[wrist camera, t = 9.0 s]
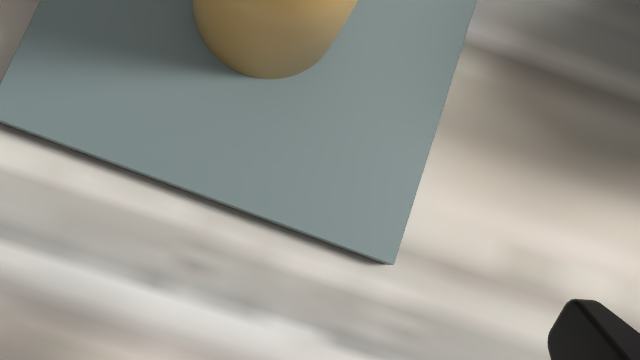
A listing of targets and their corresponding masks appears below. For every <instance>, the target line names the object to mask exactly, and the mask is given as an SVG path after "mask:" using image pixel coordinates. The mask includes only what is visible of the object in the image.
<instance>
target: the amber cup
mask: <svg viewBox="0 0 640 360" xmlns="http://www.w3.org/2000/svg"><path fill="white" fill-rule="evenodd" d="M357 2H358V0H192V4H193V14H194V20H195V23H196V27H197V29H198V32H199V34H200V36H201V38H202V40H203V41H204V43H205V45H206V46H207V47H208V48H209V50H210V51H211V52H212V53H213V54H214V55H215V56H216V57H217V58H218V59H219V60H220V61H221V62H223V63H224V64H225V65H227V66H228V67H230V68H232V69H233V70H235V71H237V72H240V73H242V74H244V75H248V76H251V77H255V78H261V79H281V78H286V77H291V76H294V75H297V74H299V73H302V72H304V71H305V70H307V69H309V68H310V67H312V66H313V65H315V64H316V63H317V62H318V61H319V60H320V59H321V58H322V57H323V56H324V55H325V54H326V52H327V51H328V50H329V48H330V46H331V45H332V43H333V41H334V40H335V38H336V36H337V35H338V33H339V31H340V30H341V28H342V27H343V25H344V23H345V22H346V20H347V18H348V17H349V15H350V13H351V12H352V10H353V8H354V7H355V5H356V3H357Z"/></svg>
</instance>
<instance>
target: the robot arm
mask: <svg viewBox="0 0 640 360" xmlns="http://www.w3.org/2000/svg"><path fill="white" fill-rule="evenodd" d="M548 350H549V354H550V358H551V360H640V333H638V332H637V331H636V330H634V329H633V328H632V327H631V326H629V325H628V324H627V323H625V322H624V321H623V320H622V319H620V318H619V317H618V316H616V315H615V314H614V313H612V312H611V311H610V310H609V309H607V308H606V307H605V306H603V305H602V304H601V303H599V302H597V301H594V300H584V299H572V300H570V301H569V302H567V303H566V305H565V306H564V308H563V310H562V311H561V313H560V315H559V316H558V318H557V320H556V322H555V323H554V325H553V327H552V328H551V330H550V332H549V335H548Z"/></svg>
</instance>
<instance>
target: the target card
mask: <svg viewBox="0 0 640 360" xmlns="http://www.w3.org/2000/svg"><path fill="white" fill-rule="evenodd" d="M476 1H477V0H358V2H357V3H356V5H355V7H354V8H353V10H352V12H351V13H350V15H349V17H348V18H347V20H346V22H345V23H344V25H343V27H342V28H341V30H340V31H339V33H338V35H337V36H336V38H335V40H334V41H333V43H332V45H331V46H330V48H329V50H328V51H327V52H326V54H325V55H324V56H323V57H322V58H321V59H320V60H319V61H318V62H317V63H316V64H315V65H313V66H312V67H310V68H309V69H307V70H305V71H304V72H302V73H299V74H297V75H294V76H291V77H286V78H281V79H261V78H255V77H251V76H248V75H244V74H242V73H240V72H237V71H235V70H233V69H232V68H230V67H228V66H227V65H225V64H224V63H223V62H221V61H220V60H219V59H218V58H217V57H216V56H215V55H214V54H213V53H212V52H211V51H210V50H209V48H208V47H207V46H206V45H205V43H204V41H203V40H202V38H201V36H200V34H199V32H198V29H197V27H196V23H195V20H194V14H193V4H192V0H41V1H40V3H39V5H38V7H37V10H36V12H35V14H34V16H33V18H32V20H31V22H30V24H29V26H28V28H27V30H26V32H25V34H24V36H23V38H22V41H21V43H20V45H19V47H18V49H17V51H16V53H15V55H14V57H13V59H12V61H11V63H10V65H9V67H8V69H7V71H6V74H5V76H4V78H3V80H2V82H1V84H0V123H2V124H5V125H8V126H10V127H13V128H16V129H19V130H21V131H24V132H27V133H30V134H32V135H35V136H38V137H40V138H43V139H46V140H49V141H51V142H54V143H57V144H60V145H62V146H65V147H68V148H70V149H73V150H76V151H79V152H81V153H84V154H87V155H90V156H92V157H95V158H98V159H101V160H103V161H106V162H109V163H111V164H114V165H117V166H120V167H122V168H125V169H128V170H131V171H133V172H136V173H139V174H141V175H144V176H147V177H150V178H152V179H155V180H158V181H161V182H163V183H166V184H169V185H171V186H174V187H177V188H180V189H182V190H185V191H188V192H191V193H193V194H196V195H199V196H201V197H204V198H207V199H210V200H212V201H215V202H218V203H221V204H223V205H226V206H229V207H231V208H234V209H237V210H240V211H242V212H245V213H248V214H251V215H253V216H256V217H259V218H261V219H264V220H267V221H270V222H272V223H275V224H278V225H281V226H283V227H286V228H289V229H292V230H294V231H297V232H300V233H302V234H305V235H308V236H311V237H313V238H316V239H319V240H322V241H324V242H327V243H330V244H332V245H335V246H338V247H341V248H343V249H346V250H349V251H352V252H354V253H357V254H360V255H362V256H365V257H368V258H371V259H373V260H376V261H379V262H382V263H384V264H387V265H394V263H395V259H396V256H397V253H398V250H399V247H400V243H401V240H402V237H403V234H404V231H405V227H406V224H407V221H408V218H409V215H410V211H411V208H412V205H413V202H414V199H415V196H416V192H417V189H418V186H419V183H420V180H421V176H422V173H423V170H424V167H425V164H426V160H427V157H428V154H429V151H430V148H431V144H432V141H433V138H434V135H435V132H436V129H437V125H438V122H439V119H440V116H441V113H442V109H443V106H444V103H445V100H446V97H447V93H448V90H449V87H450V84H451V81H452V77H453V74H454V71H455V68H456V65H457V61H458V58H459V55H460V52H461V49H462V46H463V42H464V39H465V36H466V33H467V30H468V26H469V23H470V20H471V17H472V14H473V10H474V7H475V4H476Z"/></svg>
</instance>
